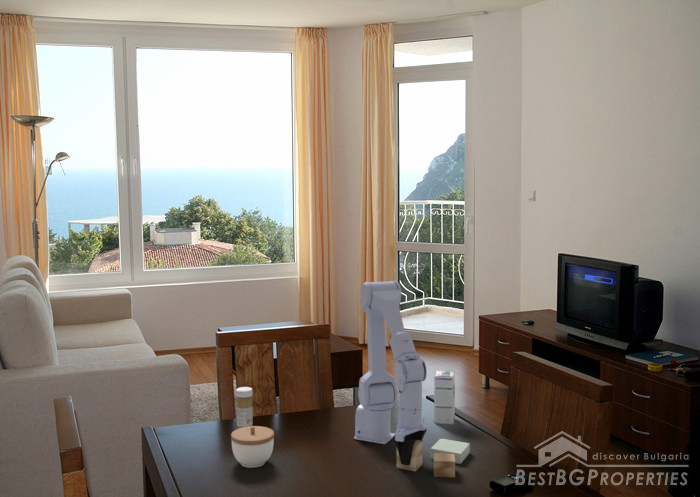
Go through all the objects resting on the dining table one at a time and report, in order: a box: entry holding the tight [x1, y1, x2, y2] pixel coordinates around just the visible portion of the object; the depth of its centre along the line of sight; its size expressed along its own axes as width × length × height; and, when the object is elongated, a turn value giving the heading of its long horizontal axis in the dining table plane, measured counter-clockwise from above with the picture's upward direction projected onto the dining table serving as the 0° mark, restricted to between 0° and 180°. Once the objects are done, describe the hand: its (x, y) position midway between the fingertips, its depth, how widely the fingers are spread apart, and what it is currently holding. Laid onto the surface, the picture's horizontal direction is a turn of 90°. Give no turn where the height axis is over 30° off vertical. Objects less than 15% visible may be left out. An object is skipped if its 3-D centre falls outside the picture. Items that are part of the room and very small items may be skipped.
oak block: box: [433, 453, 456, 478], centre depth 168 cm, size 5×5×4 cm
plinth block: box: [430, 438, 471, 465], centre depth 179 cm, size 8×8×3 cm
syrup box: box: [433, 370, 456, 425], centre depth 205 cm, size 6×6×14 cm
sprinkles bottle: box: [235, 386, 254, 430], centre depth 192 cm, size 5×5×14 cm
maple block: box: [396, 440, 424, 472], centre depth 172 cm, size 5×5×6 cm
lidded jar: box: [230, 425, 275, 469], centre depth 173 cm, size 11×11×9 cm
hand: (409, 460), depth 172 cm, fingers closed on maple block, 5 cm apart
